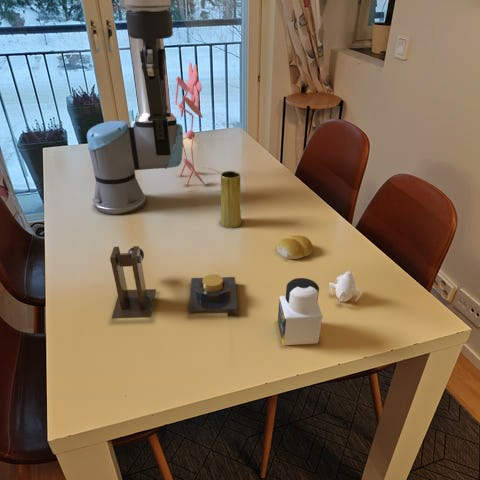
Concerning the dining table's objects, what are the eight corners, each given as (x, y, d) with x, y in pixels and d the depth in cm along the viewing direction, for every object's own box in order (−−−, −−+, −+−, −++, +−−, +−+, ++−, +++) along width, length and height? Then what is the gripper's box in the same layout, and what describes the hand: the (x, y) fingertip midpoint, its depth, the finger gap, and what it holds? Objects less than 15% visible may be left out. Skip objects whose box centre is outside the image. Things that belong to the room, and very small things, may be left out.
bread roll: (318, 253, 112) (320, 239, 109) (290, 263, 108) (292, 249, 105) (297, 240, 117) (299, 226, 115) (271, 249, 113) (272, 235, 111)
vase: (239, 228, 122) (239, 179, 113) (218, 226, 123) (216, 177, 114) (243, 219, 127) (243, 171, 118) (223, 217, 128) (222, 169, 119)
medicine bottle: (277, 322, 90) (281, 274, 82) (310, 321, 90) (317, 272, 83) (282, 346, 84) (287, 296, 77) (318, 344, 85) (326, 294, 77)
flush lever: (129, 262, 98) (128, 246, 97) (145, 262, 98) (144, 246, 97) (116, 269, 85) (114, 251, 84) (134, 269, 85) (133, 251, 85)
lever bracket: (120, 294, 98) (109, 239, 89) (156, 293, 98) (148, 239, 89) (112, 322, 90) (99, 265, 81) (151, 321, 90) (141, 265, 81)
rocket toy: (327, 294, 98) (331, 264, 93) (349, 290, 99) (355, 261, 94) (337, 308, 94) (342, 277, 89) (360, 304, 95) (366, 274, 90)
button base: (192, 285, 100) (190, 270, 98) (234, 284, 101) (234, 269, 98) (189, 317, 91) (188, 302, 89) (236, 316, 92) (236, 301, 89)
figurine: (189, 196, 139) (180, 72, 117) (172, 168, 158) (162, 58, 136) (234, 189, 143) (234, 69, 121) (213, 163, 162) (209, 55, 140)
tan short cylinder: (202, 281, 95) (202, 274, 94) (222, 280, 96) (222, 274, 94) (202, 292, 92) (202, 286, 91) (223, 292, 92) (223, 285, 91)
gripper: (131, 5, 76) (148, 143, 91) (118, 12, 66) (140, 166, 81) (173, 6, 76) (184, 143, 91) (167, 12, 66) (180, 165, 81)
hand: (163, 154), depth 86 cm, fingers closed
